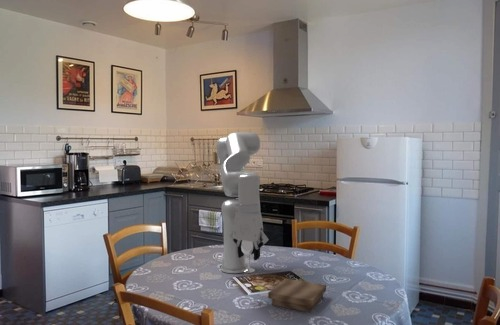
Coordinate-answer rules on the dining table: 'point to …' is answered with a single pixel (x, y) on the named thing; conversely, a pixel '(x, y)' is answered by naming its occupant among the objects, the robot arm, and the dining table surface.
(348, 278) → the dining table surface
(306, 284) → the stand
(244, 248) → the wineglass
